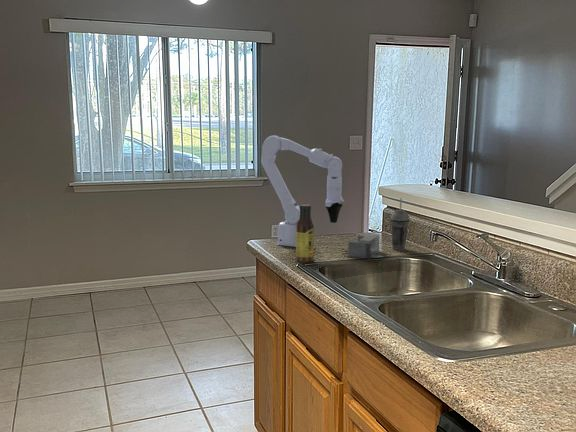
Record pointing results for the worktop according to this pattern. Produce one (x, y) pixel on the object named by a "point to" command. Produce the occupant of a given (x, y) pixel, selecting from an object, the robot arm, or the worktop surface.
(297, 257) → the sauce bottle
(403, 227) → the beverage cup
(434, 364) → the worktop surface
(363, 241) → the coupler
